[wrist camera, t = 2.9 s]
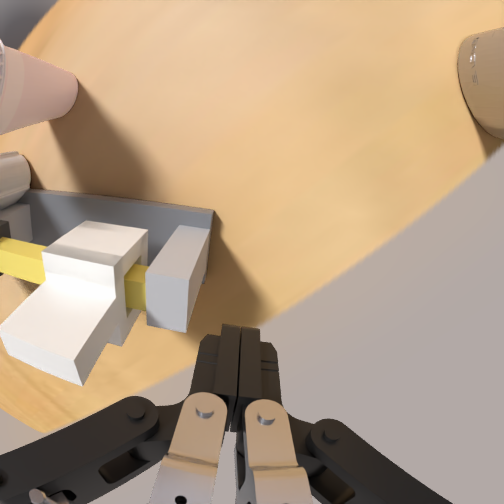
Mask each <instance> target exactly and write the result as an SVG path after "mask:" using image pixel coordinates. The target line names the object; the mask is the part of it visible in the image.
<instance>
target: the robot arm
mask: <svg viewBox="0 0 504 504" xmlns="http://www.w3.org/2000/svg"><path fill="white" fill-rule="evenodd" d="M458 73H459V79H460V84H461V87H462V91H463V94H464V97H465V99H466V102H467V104H468V107H469V108H470V110H471V112H472V114H473V116H474V117H475V119H476V120H477V121H478V123H479V124H480V125H481V126H482V127H483V128H484V129H485V130H486V131H487V132H488V133H489V134H491V135H493V136H494V137H498V138H502V139H504V28H498V29H494V30H490V31H486V32H482V33H478V34H474V35H471V36H469V37H467V38H466V39H465V40H464V41H463V42H462V44H461V47H460V49H459V54H458ZM278 371H279V368H278V358H277V351H276V350H275V348H274V347H273V345H272V344H271V343H268V342H260V329H257V328H249V327H241V331H240V326H234V325H227V324H222V331H221V336H215V335H209V334H207V335H206V336H205V338H204V339H203V340H202V341H201V342H200V346H199V351H198V355H197V360H196V365H195V369H194V374H193V379H192V384H191V389H190V392H189V394H188V396H187V397H186V398H185V399H184V400H183V401H181V402H180V403H177V404H174V405H169V406H155V405H154V404H153V403H152V402H151V401H150V400H148V399H146V398H143V397H139V396H130V397H126V398H124V399H122V400H120V401H118V402H116V403H114V404H112V405H110V406H109V407H107V408H105V409H103V410H101V411H99V412H97V413H95V414H93V415H91V416H89V417H87V418H85V419H82V420H80V421H78V422H76V423H74V424H72V425H70V426H68V427H66V428H64V429H61V430H59V431H57V432H55V433H53V434H50V435H48V436H46V437H44V438H41V439H39V440H37V441H35V442H32V443H30V444H27V445H25V446H23V447H20V448H18V449H15V450H13V451H10V452H8V453H5V454H2V455H0V504H87V503H89V502H91V501H93V500H95V499H97V498H99V497H101V496H103V495H104V494H106V493H108V492H110V491H112V490H113V489H115V488H117V487H119V486H121V485H122V484H124V483H126V482H128V481H129V480H130V479H133V478H134V477H136V476H137V475H139V474H141V473H142V472H144V471H145V470H147V469H149V468H150V467H152V466H153V465H155V464H156V463H158V462H159V461H160V460H162V462H161V465H160V468H159V471H158V475H157V478H156V481H155V485H154V488H153V491H152V494H151V497H150V501H149V504H211V502H212V496H213V490H214V485H215V480H216V474H217V468H218V461H219V455H220V450H221V447H222V444H223V439H224V435H225V431H229V426H230V422H231V426H230V427H231V428H230V432H237V434H236V435H237V436H236V445H235V448H234V456H235V476H236V501H235V504H313V501H312V496H314V497H315V498H316V499H317V500H318V501H319V502H320V503H322V504H452V503H451V502H449V501H448V500H446V499H445V498H443V497H442V496H440V495H439V494H437V493H436V492H434V491H432V490H431V489H430V488H428V487H427V486H425V485H424V484H422V483H421V482H419V481H418V480H417V479H415V478H414V477H412V476H411V475H409V474H408V473H407V472H405V471H404V470H403V469H401V468H400V467H398V466H397V465H396V464H394V463H393V462H392V461H390V460H389V459H388V458H386V457H385V456H384V455H382V454H381V453H380V452H378V451H377V450H376V449H375V448H373V447H372V446H370V445H369V444H368V443H367V442H366V441H364V440H363V439H362V438H361V437H359V436H358V435H357V434H356V433H354V432H353V431H352V430H351V429H349V428H348V427H347V426H346V425H344V424H343V423H342V422H340V421H338V420H334V419H322V420H320V421H318V422H316V423H315V424H311V423H308V422H305V421H301V420H298V419H296V418H294V417H292V416H291V415H290V414H288V413H287V412H286V410H285V409H284V407H283V405H282V401H281V390H280V379H279V372H278ZM311 495H312V496H311Z"/></svg>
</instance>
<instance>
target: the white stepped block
mask: <svg viewBox="0 0 504 504" xmlns="http://www.w3.org/2000/svg"><path fill="white" fill-rule="evenodd" d="M41 252H42V259H43V265H44V271H45V277H46V281H45V282H43V283H42V284H41V285H40V286H39V287H38V288H37V289H36V290H35V291H34V292H33V293H32V294H31V295H30V296H29V297H28V298H27V299H26V300H25V301H24V302H23V303H22V304H21V305H20V306H19V307H18V308H17V309H16V310H15V311H14V312H13V313H12V314H11V315H10V316H9V317H8V318H7V319H6V320H5V321H4V322H3V323H2V324H1V325H0V336H1V338H2V341H3V343H4V346H5V348H6V350H7V352H8V354H9V355H11V356H13V357H15V358H17V359H19V360H21V361H23V362H25V363H27V364H29V365H31V366H33V367H36V368H38V369H40V370H42V371H45V372H47V373H49V374H52V375H54V376H56V377H59V378H61V379H64V380H67V381H69V382H72V383H74V384H77V385H80V386H83V385H84V383H85V381H86V379H87V378H88V376H89V374H90V372H91V370H92V368H93V367H94V365H95V363H96V361H97V359H98V358H99V356H100V354H101V352H102V351H103V349H104V347H105V345H106V344H107V343H111V344H114V345H118V346H123V344H124V342H125V340H126V338H127V336H128V334H129V332H130V330H131V328H132V327H133V325H134V323H135V321H136V319H137V317H138V315H139V314H140V312H141V310H138V309H133V308H128V307H126V303H125V289H124V275H125V274H126V273H127V272H128V270H129V269H130V268H131V267H132V265H133V264H138V265H143V266H147V257H148V230H147V229H140V228H134V227H127V226H120V225H114V224H107V223H100V222H93V221H87V220H86V221H84V222H83V223H81V224H80V225H78V226H77V227H75V228H74V229H72V230H71V231H69V232H68V233H67V234H65V235H64V236H62V237H61V238H59V239H58V240H56V241H55V242H54V243H52V244H51V245H49V246H48V247H47V248H45V249H44V250H43V251H41Z"/></svg>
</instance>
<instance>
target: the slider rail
mask: <svg viewBox="0 0 504 504" xmlns="http://www.w3.org/2000/svg"><path fill="white" fill-rule="evenodd" d="M213 214H214V210H210V209H203V208H196V207H189V206H182V205H175V204H168V203H160V202H152V201H144V200H136V199H128V198H120V197H111V196H102V195H93V194H83V193H73V192H63V191H52V190H41V189H29V190H28V191H26V192H25V193H24V195H23V196H22V197H21V198H20V199H19V200H18V201H17V202H16V203H15V204H13V205H11V206H8V207H6V208H4V209H2V210H0V276H1V275H3V274H4V273H5V274H8V275H11V276H14V277H17V278H20V279H23V280H27V281H30V282H33V283H36V284H40V285H41V284H42V283H43V282H45V281H46V277H45V271H44V265H43V259H42V252H41V251H43V250H44V249H45V248H47V247H48V246H49V245H51V244H52V243H54V242H55V241H56V240H58V239H59V238H61V237H62V236H64V235H65V234H67V233H68V232H69V231H71V230H72V229H74V228H75V227H77V226H78V225H80V224H81V223H83V222H84V221H86V220H87V221H93V222H100V223H107V224H114V225H120V226H127V227H134V228H140V229H147V230H148V257H147V266H143V265H138V264H133V265H132V267H131V268H130V269H129V270H128V272H127V273H126V274H125V275H124V289H125V303H126V307H128V308H133V309H138V310H142V311H146V313H147V325H149V326H154V327H158V328H163V329H168V330H174V331H179V332H184V333H186V331H187V328H188V325H189V321H190V318H191V315H192V312H193V309H194V305H195V302H196V299H197V296H198V293H199V289H200V286H201V283H202V284H204V282H205V279H206V274H207V265H208V256H209V247H210V239H211V230H212V222H213Z"/></svg>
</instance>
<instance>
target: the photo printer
mask: <svg viewBox="0 0 504 504" xmlns="http://www.w3.org/2000/svg"><path fill="white" fill-rule="evenodd" d="M30 182H31V173H30V168H29V165H28V162H27V161H26V159H25V158H24V157H23V156H22V155H19V153H18V152H17V151H12V152H6V153H1V154H0V210H2V209H4V208H6V207H8V206H11V205H13V204H15V203H16V202H17V201H18V200H19V199H20V198H21V197H22V196H23V195H24V193H25V192H26V191H28V190H29V189H30V185H29V184H30Z"/></svg>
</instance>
